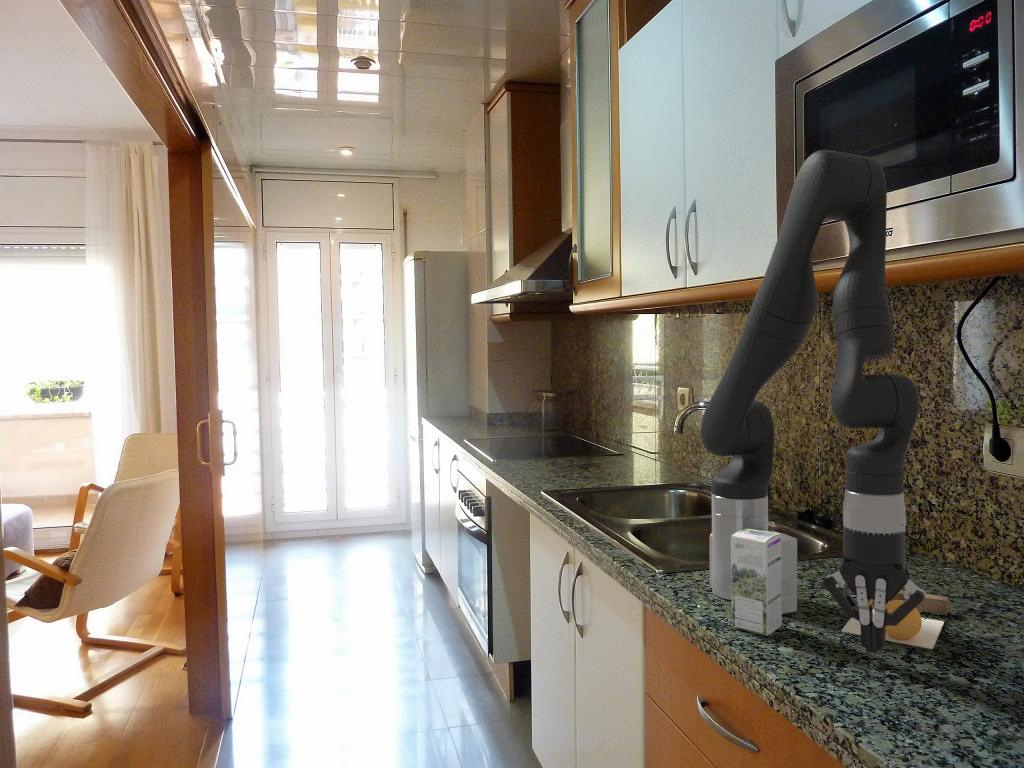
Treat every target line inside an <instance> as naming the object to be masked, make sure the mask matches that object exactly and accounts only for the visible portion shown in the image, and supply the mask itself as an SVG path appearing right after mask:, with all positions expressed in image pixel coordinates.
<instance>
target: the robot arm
mask: <svg viewBox="0 0 1024 768" xmlns="http://www.w3.org/2000/svg"><path fill="white" fill-rule="evenodd" d="M887 193H888V191H887V181H886V173H885V170H884V169H883V166H882V165H881V163H880V162H879V161H878V160H876V159H875V158H872V157H868V156H866V155H865V156H864V155H860V154H853V153H847V152H841V151H837V150H830V149H820V150H817V151H815V152H813V153H811V154H810V155H809V156H808V157H807V158H806V159H805V161H804V162H803V164H802V165H801V166H800V168H799V170H798V172H797V175H796V178H795V181H794V182H793V185H792V188H791V192H790V194H789V199H788V201H787V206H786V209H785V213H784V216H783V219H782V224H781V227H780V230H779V233H778V236H777V240H776V242H775V246H774V249H773V251H772V255H771V258H770V259H769V263H768V265H767V268H766V271H765V273H764V276H763V278H762V280H761V283H760V286H759V288H758V290H757V292H756V295H755V297H754V299H753V301H752V304H751V307H750V309H749V312H748V315H747V317H746V320H745V323H744V326H743V328H742V331H741V334H740V336H739V338H738V341H737V344H736V346H735V348H734V350H733V352H732V355H731V357H730V360H729V362H728V365H727V366H726V369H725V370H724V373H723V375H722V377H721V379H720V381H719V383H718V384H717V387H716V388H715V390H714V393H713V394H712V396H711V398H710V400H709V401H708V404H707V405H706V408H705V409H704V413H703V414H702V419H701V422H700V430H699V431H700V439H701V442H702V445H703V447H704V449H705V450H706V451H707V452H708V453H710V454H712V455H715V456H718V457H719V456H720V457H731V459H730V461H729V463H728V465H727V466H726V467H725V468H724V469H723V470H721V471H720V472H718V473H717V474H715V475H714V476H713V477H712V480H711V533H710V534H709V538H708V539H709V588H711V589H712V590H711V591H712V593H713V595H715V596H717V597H719V598H721V599H725V600H729V601H730V600H731V601H732V574H731V573H732V570H731V537H732V536H731V535H733V534H735V533H736V532H738V531H740V530H743V529H753V530H760V531H769V511H768V510H769V495H768V493H769V485H770V482H771V481H772V478H773V473H774V472H773V471H774V453H775V452H774V451H775V425H774V418H773V415H772V413H771V411H770V409H769V407H767V405H766V404H765V403H764V402H762V401H760V400H756V397H757V395H758V393H759V392H760V390H761V389H762V388H763V387H764V385H765V384H767V382H769V380H770V379H771V378H772V377H773V376H775V374H776V373H777V372H778V371H779V370H780V369H782V368H783V366H785V365H786V364H787V363H788V361H790V359H792V358H793V356H794V355H795V354H796V353H797V352H798V351H799V349H800V347H801V346H802V344H803V342H804V341H805V338H806V336H807V334H808V332H809V329H810V327H811V325H812V322H813V320H814V318H815V315H816V313H817V309H818V303H819V302H818V301H819V300H818V291H817V283H816V278H815V273H814V268H813V253H814V248H815V247H814V246H815V243H816V241H817V238H818V234H819V233H820V230H821V227H822V225H823V222H824V221H825V219H826V220H834V221H840V222H844V224H845V227H846V230H847V235H848V240H849V241H848V242H849V250H848V256H847V259H846V261H845V264H844V267H843V268H842V271H841V273H840V275H839V278H838V280H837V283H836V285H835V288H834V291H833V297H832V314H833V315H832V316H833V323H834V329H835V330H834V331H835V338H836V345H837V346H836V347H837V349H836V350H837V351H836V352H837V353H836V354H837V355H836V363H835V364H836V365H835V373H834V379H833V385H832V389H831V397H830V407H831V411H832V414H833V415H834V417H835V419H836V420H837V422H838V423H839V424H840V425H842V426H843V427H845V428H848V429H875V428H877V429H878V428H879V430H878V433H877V434H876V435H875V438H873V440H871V441H869V442H865V443H862V444H859V445H855V446H852V447H850V448H849V449H848V450H847V451H846V455H845V471H844V473H845V474H844V475H845V482H844V483H845V485H844V486H845V491H844V499H843V505H842V507H843V509H842V511H843V512H842V515H843V516H842V517H843V518H842V521H843V523H842V527H843V529H842V532H843V533H842V535H843V537H842V538H843V539H842V540H843V541H842V552H843V553H842V561H841V564H840V565H839V567H838V571H836V572H834V573H829V574H828V575H827V576H826V577H825V578H824V579H823V581H822V584H823V586H824V587H825V588H826V589H827V591H828V592H829V594H830V595H831V596H832V597H833V600H835V602H836V603H837V604H838V606H839V607H840V609H841V610H842V611H843V612H844V614H845V615H846V616H847V618H849V619H851V618H854V619H856V620H858V621H859V622H860V625H861V635H860V645H861V647H862V648H865V652H866V653H869V654H875V655H878V654H879V652H880V651H882V650H884V648H885V646H886V641H887V640H885V639H886V637H885V636H886V626H887V625H892V626H896V625H897V624H898V623H899V622H901V621H902V620H903V619H904V618H905V617H906V616H907V615H908V614H909V613H910V612H911V611H912V610H913V609H914V608H915V607H916V606H917V605H918V604H920V603H921V602H922V601H923V599H924V597H925V596H926V594H927V590H926V589H925V588H924V587H919V586H918V585H916V584H915V583H914V582H912V580H911V579H910V573H909V571H908V570H907V567H906V526H907V517H906V515H907V514H906V513H907V512H906V505H905V503H906V502H905V497H904V496H905V493H904V487H905V485H904V484H905V483H904V481H905V480H904V479H905V477H904V475H905V473H904V470H905V468H904V467H905V466H904V464H905V460H906V456H907V455H906V454H907V451H908V448H909V444H910V440H911V437H912V433H913V432H914V429H915V426H916V423H917V421H918V420H917V419H918V415H919V412H920V404H921V401H920V400H921V399H920V393H919V391H918V388H917V385H916V384H915V383H914V382H913V380H912V379H910V378H909V377H908V376H906V375H903V374H897V373H895V374H893V373H892V374H890V373H888V374H864V366H865V363H868V362H873V361H876V360H880V359H883V358H885V357H887V356H889V355H890V354H891V353H892V352H894V350H895V335H894V329H893V322H892V316H891V310H890V305H889V299H888V290H887V281H886V280H887V277H886V251H887V249H886V248H887V246H886V244H887V204H888V203H887V200H888V195H887ZM846 584H847V585H848V587H849V589H850V590H851V591H852V593H853V594H854V595H855V596H856V597H857V602H856V601H855V600H854V599H853V597H852V596H851V594H849V592H848V590H847V589H846V588H845V585H846ZM903 588H904V589H905V593H904V598H905V599H906V600H905V601H904V602H903V603H902V604H901V605H900V606H899V607H898V608H897V609H896V610H895V611H894V612H892V613H887V612H888V605H889V601H890V600H891V599H893V598H894V597H895V596H896V594H897V593H898V592H899V591H900V590H903ZM873 600H875V603H874V604H872V603H873ZM873 609H874V610H875V611H874V622H873V621H872V620H873Z"/></svg>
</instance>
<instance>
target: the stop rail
mask: <svg viewBox="0 0 1024 768" xmlns="http://www.w3.org/2000/svg"><path fill="white" fill-rule="evenodd" d="M904 593H905V590H904V589H901V590H900V591H899V592H898V593H897V594H896V596H895V597H894V598H893V599H891V600H890V601H893V600H903V601H905V600H906V599H905V598H904ZM890 601H889V602H890ZM874 603H875V600H873V603H872V605H874ZM915 608H916V609H917V610H918V611H924V612H930V613H935V614H940V615H946V617H947V616H948V614H947V613H949V597H948V596H942V595H937V594H932V593H931V594H929V593H926V596H925V597H924V599H923V601H922V602H921V603H920V604H918V605H917V606H916V607H915Z"/></svg>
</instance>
